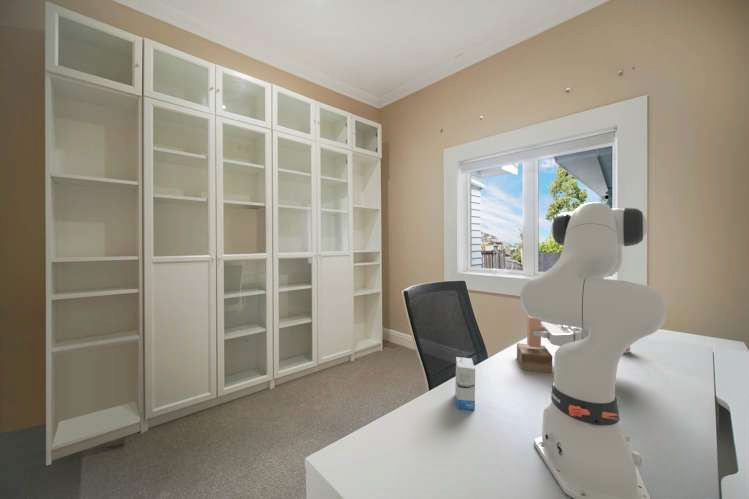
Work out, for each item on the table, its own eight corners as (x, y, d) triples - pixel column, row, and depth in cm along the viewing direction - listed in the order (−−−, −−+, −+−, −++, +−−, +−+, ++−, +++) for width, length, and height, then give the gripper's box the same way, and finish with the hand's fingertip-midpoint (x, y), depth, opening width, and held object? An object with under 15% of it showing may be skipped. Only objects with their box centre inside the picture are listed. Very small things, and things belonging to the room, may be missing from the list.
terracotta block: (540, 347, 114) (541, 318, 114) (529, 346, 115) (529, 317, 115) (538, 344, 118) (538, 316, 117) (527, 343, 119) (527, 315, 119)
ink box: (475, 410, 84) (475, 368, 84) (456, 408, 85) (457, 367, 85) (471, 395, 92) (472, 357, 92) (455, 394, 93) (455, 356, 93)
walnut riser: (552, 372, 109) (552, 356, 109) (521, 369, 112) (522, 353, 112) (544, 360, 121) (544, 345, 121) (516, 357, 124) (517, 343, 124)
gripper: (564, 319, 122) (526, 316, 126) (582, 333, 103) (537, 329, 107) (564, 334, 122) (526, 331, 126) (582, 351, 103) (536, 347, 107)
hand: (531, 330), depth 116 cm, fingers closed on terracotta block, 4 cm apart
